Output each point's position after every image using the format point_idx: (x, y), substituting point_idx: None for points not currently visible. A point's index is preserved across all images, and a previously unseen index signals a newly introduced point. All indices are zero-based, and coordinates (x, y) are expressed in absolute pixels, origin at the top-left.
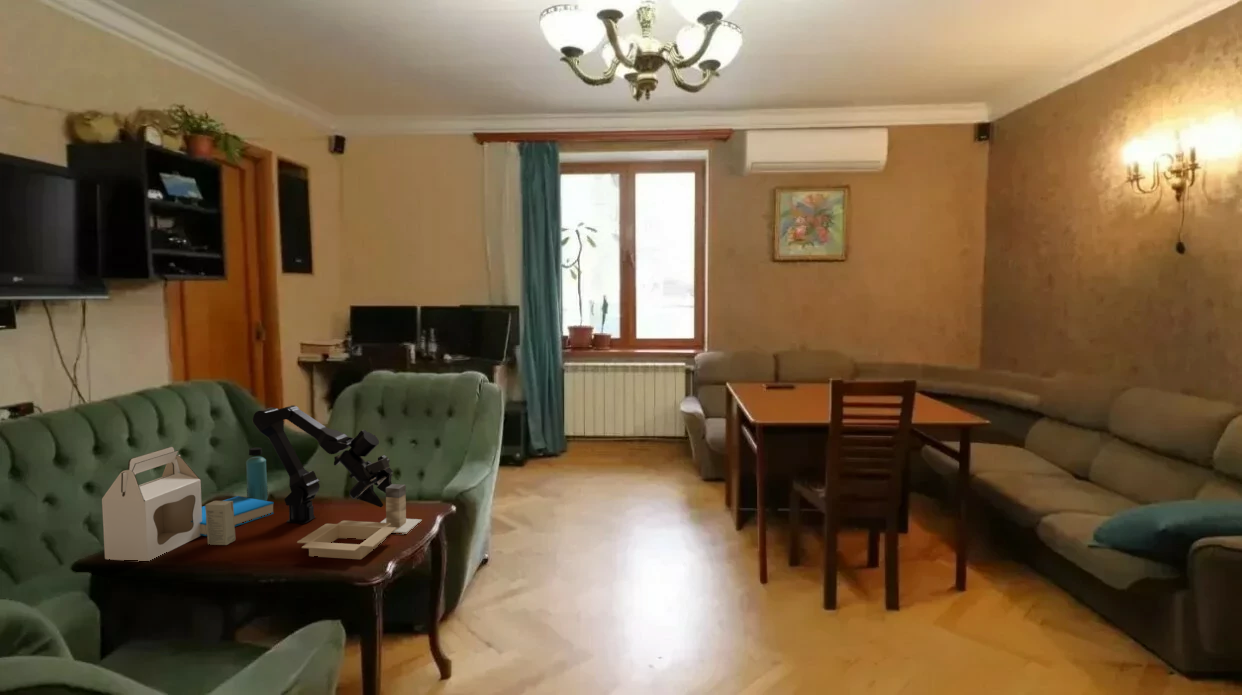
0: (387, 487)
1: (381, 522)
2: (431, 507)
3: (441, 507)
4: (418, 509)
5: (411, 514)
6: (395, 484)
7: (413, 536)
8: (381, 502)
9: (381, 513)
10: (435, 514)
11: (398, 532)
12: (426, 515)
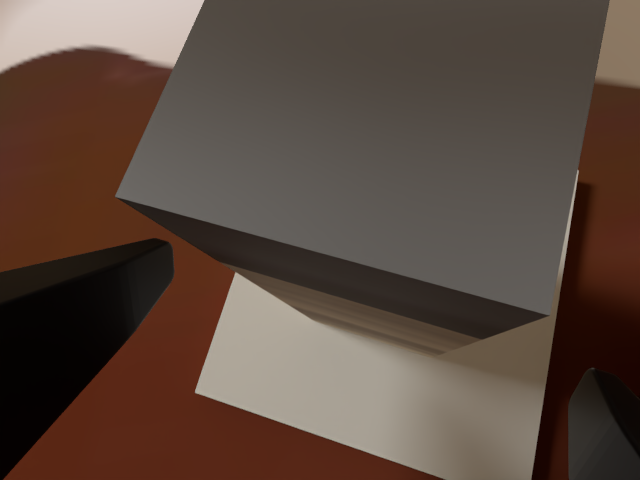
0: (489, 264)
1: (317, 419)
2: (15, 127)
3: (34, 72)
4: (28, 198)
5: (118, 225)
6: (184, 106)
7: (607, 124)
8: (631, 404)
9: (34, 463)
10: (156, 79)
11: (565, 234)
12: None
